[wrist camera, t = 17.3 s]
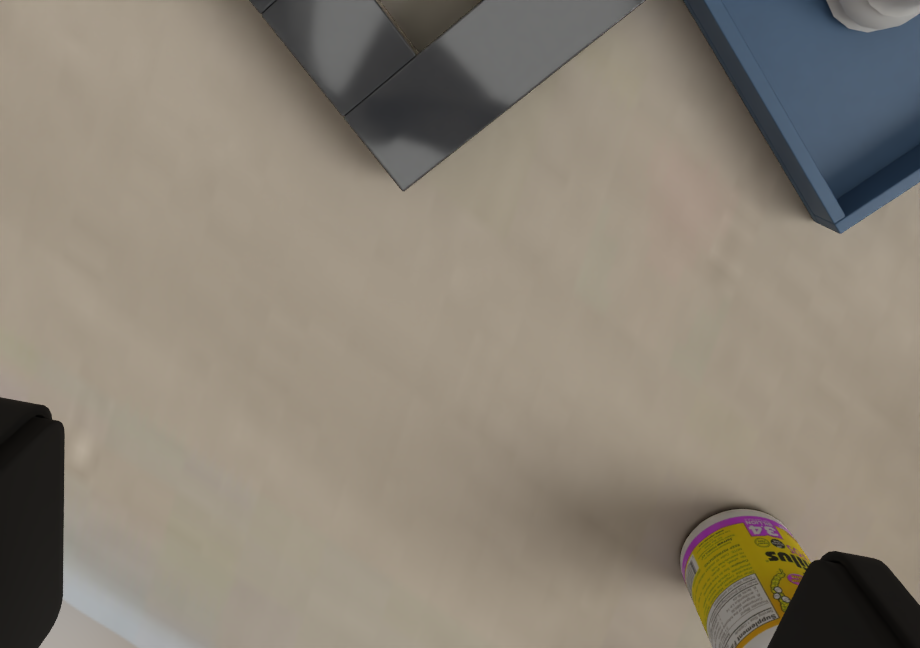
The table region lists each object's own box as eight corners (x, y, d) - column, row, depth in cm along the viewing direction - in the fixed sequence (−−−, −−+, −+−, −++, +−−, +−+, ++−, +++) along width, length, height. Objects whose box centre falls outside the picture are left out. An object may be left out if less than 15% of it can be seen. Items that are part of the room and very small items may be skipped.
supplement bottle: (812, 547, 41) (959, 752, 29) (725, 612, 43) (829, 830, 31) (740, 482, 39) (863, 671, 27) (652, 552, 41) (732, 758, 29)
